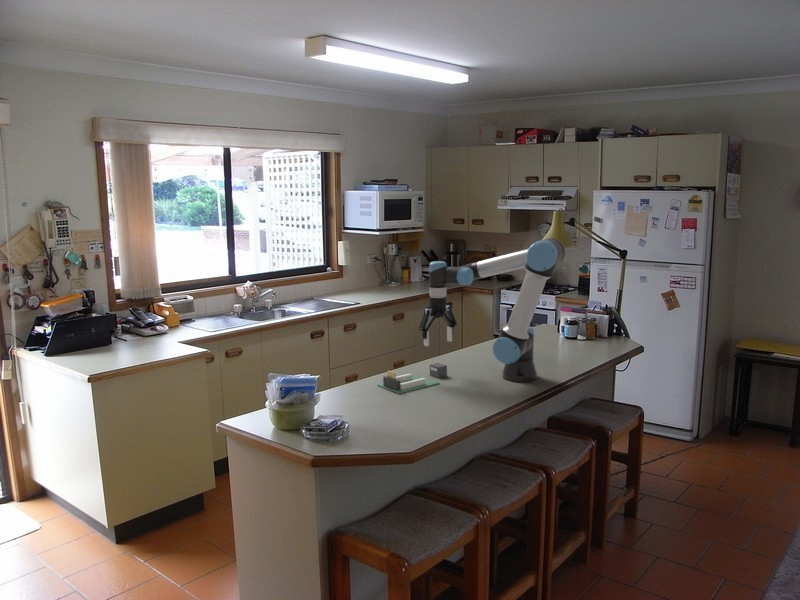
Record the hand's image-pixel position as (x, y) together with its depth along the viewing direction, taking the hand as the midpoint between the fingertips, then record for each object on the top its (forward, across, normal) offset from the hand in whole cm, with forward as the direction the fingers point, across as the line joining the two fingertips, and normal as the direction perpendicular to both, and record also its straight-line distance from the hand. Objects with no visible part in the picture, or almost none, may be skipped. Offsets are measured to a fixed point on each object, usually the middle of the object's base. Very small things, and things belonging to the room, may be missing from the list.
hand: (438, 343), depth 298 cm
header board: (+15, +19, +3) cm, 24 cm away
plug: (+15, 0, 0) cm, 15 cm away
